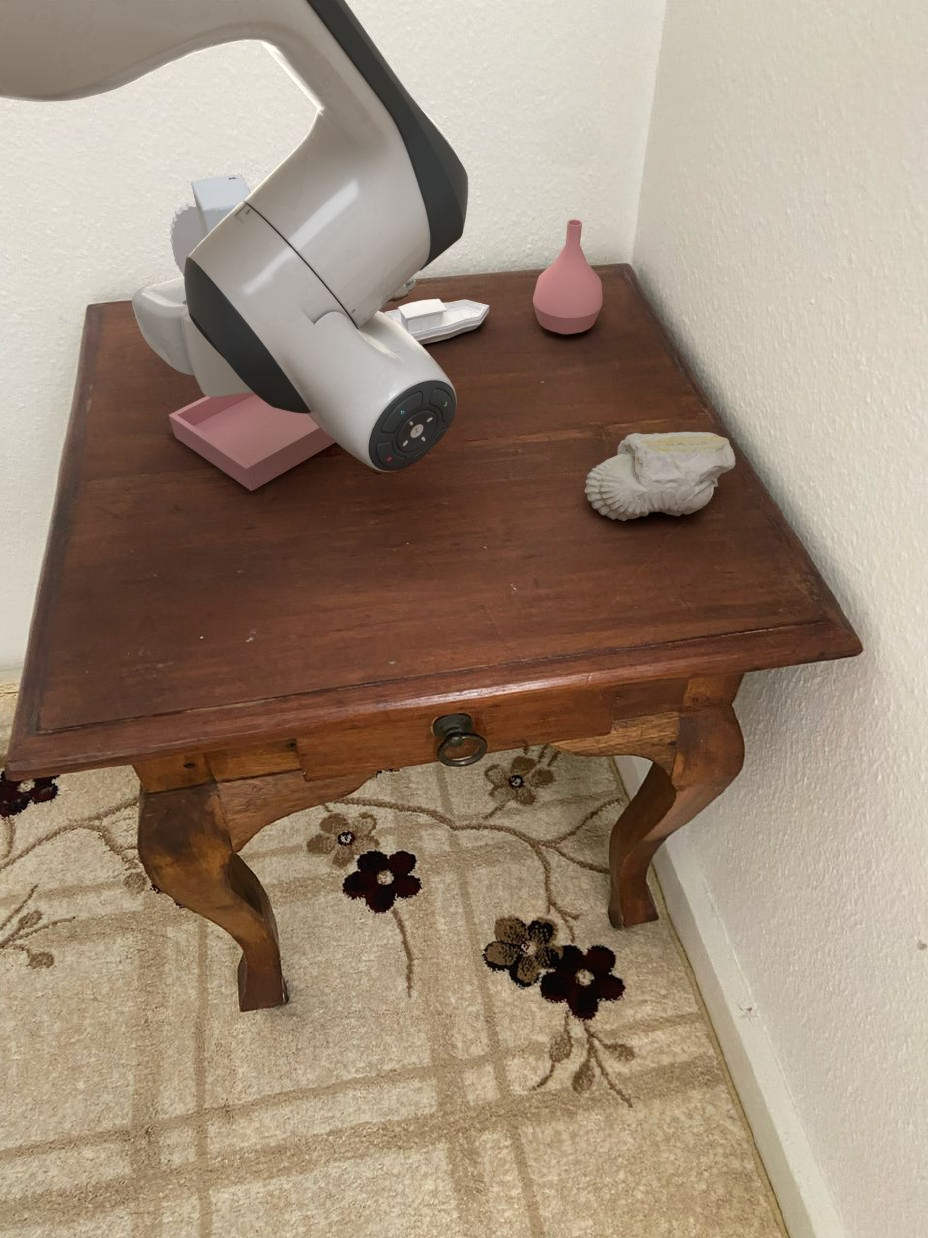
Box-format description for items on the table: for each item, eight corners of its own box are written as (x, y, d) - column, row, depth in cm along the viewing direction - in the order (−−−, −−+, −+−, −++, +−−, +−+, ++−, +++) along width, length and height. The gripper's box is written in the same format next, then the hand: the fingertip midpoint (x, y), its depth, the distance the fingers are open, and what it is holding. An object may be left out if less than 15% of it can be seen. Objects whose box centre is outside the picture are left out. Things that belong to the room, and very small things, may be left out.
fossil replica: (562, 497, 79) (630, 569, 74) (569, 428, 72) (644, 501, 67) (666, 447, 83) (738, 512, 78) (682, 376, 76) (762, 442, 71)
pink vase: (517, 330, 99) (522, 223, 90) (558, 305, 103) (567, 200, 94) (571, 354, 95) (582, 246, 86) (612, 328, 99) (626, 221, 90)
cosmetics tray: (251, 491, 80) (246, 468, 78) (174, 437, 85) (168, 414, 83) (366, 424, 87) (363, 402, 85) (288, 378, 92) (284, 356, 90)
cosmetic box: (221, 319, 78) (189, 179, 69) (268, 311, 79) (242, 171, 70) (233, 353, 74) (201, 209, 65) (282, 344, 75) (257, 200, 66)
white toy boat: (381, 329, 99) (379, 301, 97) (479, 309, 102) (479, 281, 100) (399, 355, 95) (397, 327, 93) (499, 333, 98) (500, 306, 96)
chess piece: (286, 351, 96) (262, 212, 85) (197, 369, 93) (160, 229, 82) (265, 309, 102) (241, 175, 91) (181, 326, 100) (145, 190, 88)
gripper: (424, 247, 66) (339, 187, 74) (163, 325, 58) (99, 248, 66) (427, 325, 70) (347, 260, 78) (186, 405, 63) (124, 325, 71)
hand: (231, 255), depth 72 cm, fingers closed on cosmetic box, 5 cm apart
